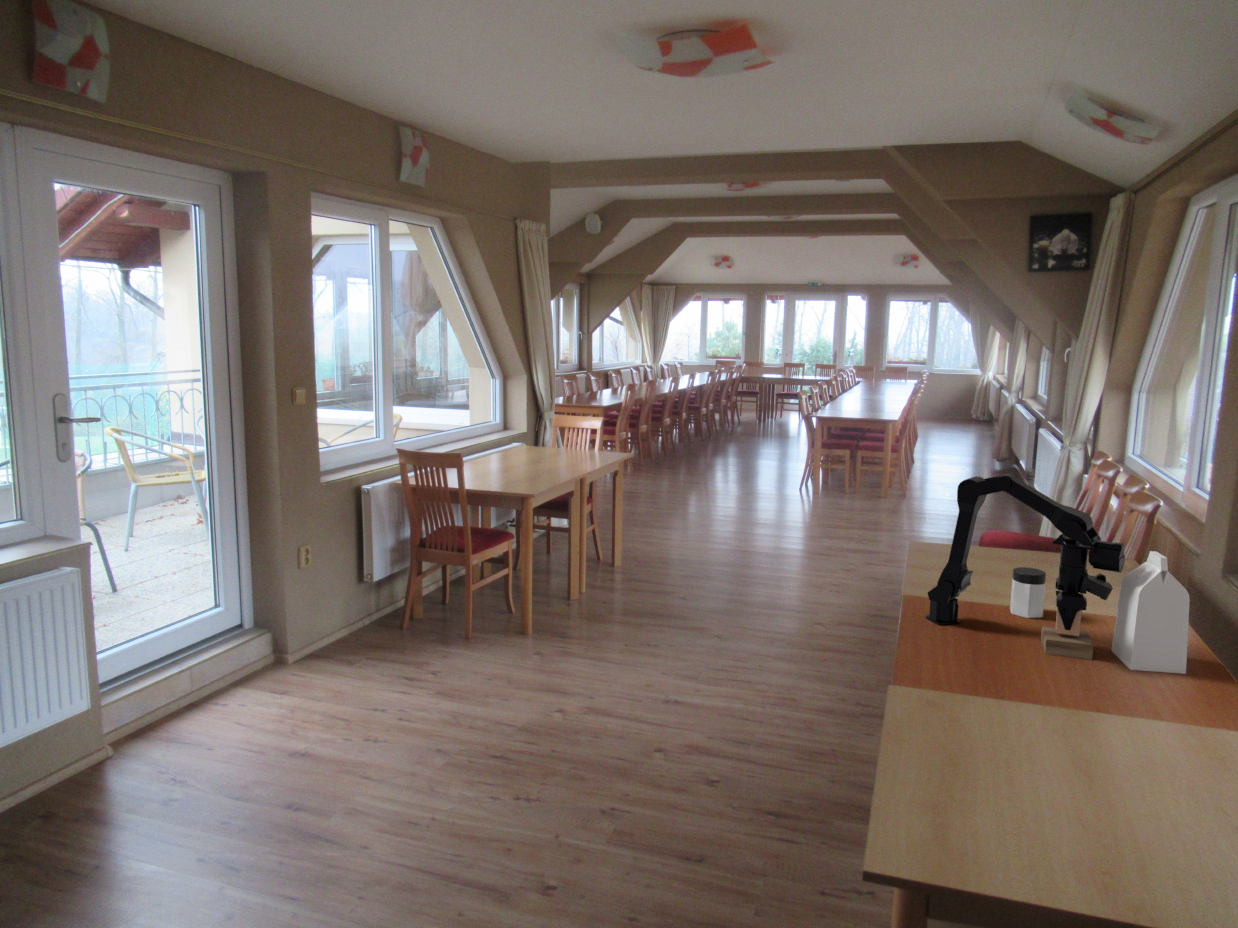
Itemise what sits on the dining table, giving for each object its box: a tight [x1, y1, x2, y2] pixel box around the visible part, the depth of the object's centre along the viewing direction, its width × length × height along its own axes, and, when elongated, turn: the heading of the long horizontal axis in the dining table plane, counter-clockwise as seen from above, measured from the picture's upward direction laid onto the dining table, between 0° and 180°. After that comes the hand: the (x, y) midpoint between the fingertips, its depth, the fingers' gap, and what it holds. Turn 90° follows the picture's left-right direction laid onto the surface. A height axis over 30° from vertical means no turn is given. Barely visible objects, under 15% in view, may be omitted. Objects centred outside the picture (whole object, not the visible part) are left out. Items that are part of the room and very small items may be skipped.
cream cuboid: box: [1055, 605, 1083, 636], centre depth 205 cm, size 5×5×6 cm
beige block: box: [1040, 625, 1094, 661], centre depth 206 cm, size 10×10×4 cm
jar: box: [1009, 566, 1047, 619], centre depth 232 cm, size 9×8×12 cm
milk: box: [1110, 550, 1191, 675], centre depth 197 cm, size 12×12×26 cm
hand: (1067, 626), depth 206 cm, fingers closed on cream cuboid, 5 cm apart
